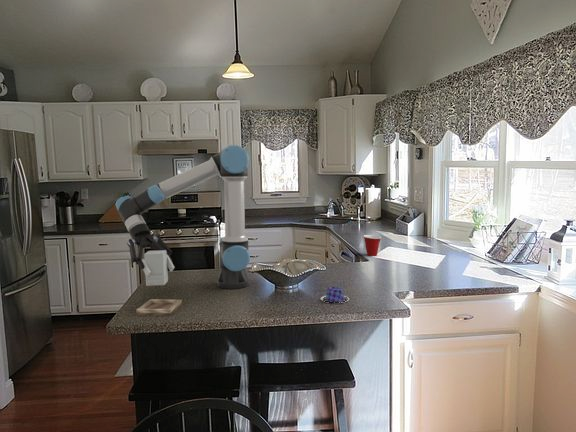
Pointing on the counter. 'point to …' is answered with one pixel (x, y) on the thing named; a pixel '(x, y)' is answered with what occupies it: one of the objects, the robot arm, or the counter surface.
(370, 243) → the plastic cup
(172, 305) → the square wooden tray
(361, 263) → the counter surface
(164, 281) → the supplement box
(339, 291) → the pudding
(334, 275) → the counter surface
